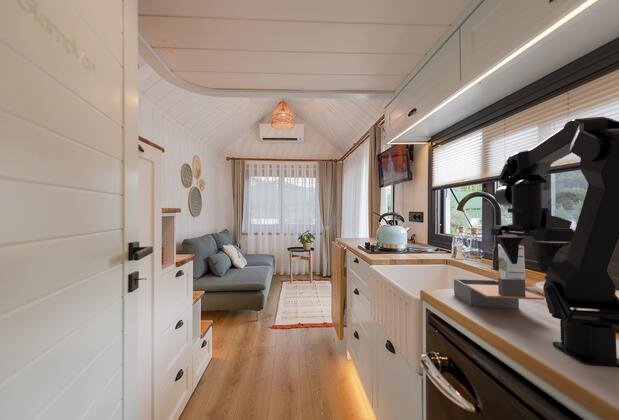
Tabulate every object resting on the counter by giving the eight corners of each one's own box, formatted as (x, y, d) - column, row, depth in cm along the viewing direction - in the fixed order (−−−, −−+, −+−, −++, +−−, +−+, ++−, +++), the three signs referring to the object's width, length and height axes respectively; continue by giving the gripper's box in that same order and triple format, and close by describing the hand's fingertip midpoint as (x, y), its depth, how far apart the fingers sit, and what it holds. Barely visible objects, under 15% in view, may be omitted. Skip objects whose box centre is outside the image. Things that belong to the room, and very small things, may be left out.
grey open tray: (518, 308, 66) (518, 289, 66) (470, 306, 67) (470, 287, 67) (495, 296, 76) (495, 280, 76) (454, 294, 77) (453, 278, 77)
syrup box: (526, 287, 85) (525, 245, 86) (507, 286, 86) (506, 245, 87) (516, 283, 91) (515, 243, 91) (498, 282, 92) (497, 243, 92)
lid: (544, 299, 58) (543, 280, 58) (487, 297, 59) (486, 279, 59) (513, 287, 68) (513, 271, 68) (465, 285, 70) (465, 269, 70)
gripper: (604, 202, 50) (606, 278, 50) (531, 205, 69) (532, 261, 69) (546, 202, 51) (547, 276, 51) (489, 205, 70) (490, 260, 70)
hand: (528, 267), depth 60 cm, fingers open, 9 cm apart
